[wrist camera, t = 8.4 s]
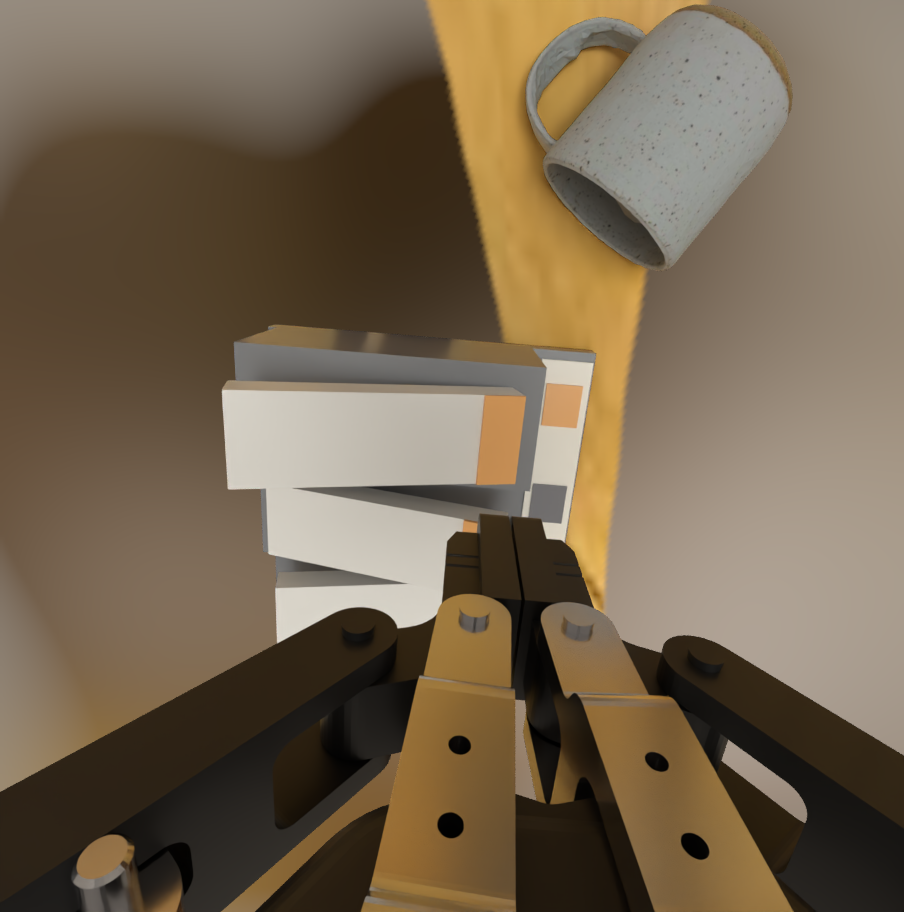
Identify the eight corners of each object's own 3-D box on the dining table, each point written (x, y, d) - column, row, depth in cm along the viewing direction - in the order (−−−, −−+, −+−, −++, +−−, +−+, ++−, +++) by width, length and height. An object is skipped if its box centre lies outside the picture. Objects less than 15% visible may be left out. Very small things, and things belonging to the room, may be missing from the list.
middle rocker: (282, 472, 29) (263, 484, 27) (508, 512, 26) (502, 528, 25) (284, 540, 30) (266, 555, 29) (499, 584, 28) (493, 603, 26)
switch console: (275, 324, 31) (210, 344, 23) (591, 350, 31) (632, 379, 23) (283, 596, 37) (233, 684, 29) (548, 618, 37) (569, 712, 29)
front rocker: (227, 380, 22) (221, 390, 20) (512, 387, 25) (526, 396, 23) (232, 474, 23) (227, 491, 22) (502, 469, 26) (515, 484, 25)
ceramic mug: (753, 138, 28) (852, 91, 20) (637, 274, 30) (689, 276, 23) (595, -17, 26) (641, -129, 19) (485, 140, 28) (487, 95, 21)
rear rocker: (278, 572, 31) (275, 589, 29) (486, 566, 33) (493, 582, 32) (280, 631, 32) (277, 651, 31) (479, 622, 35) (486, 640, 33)
